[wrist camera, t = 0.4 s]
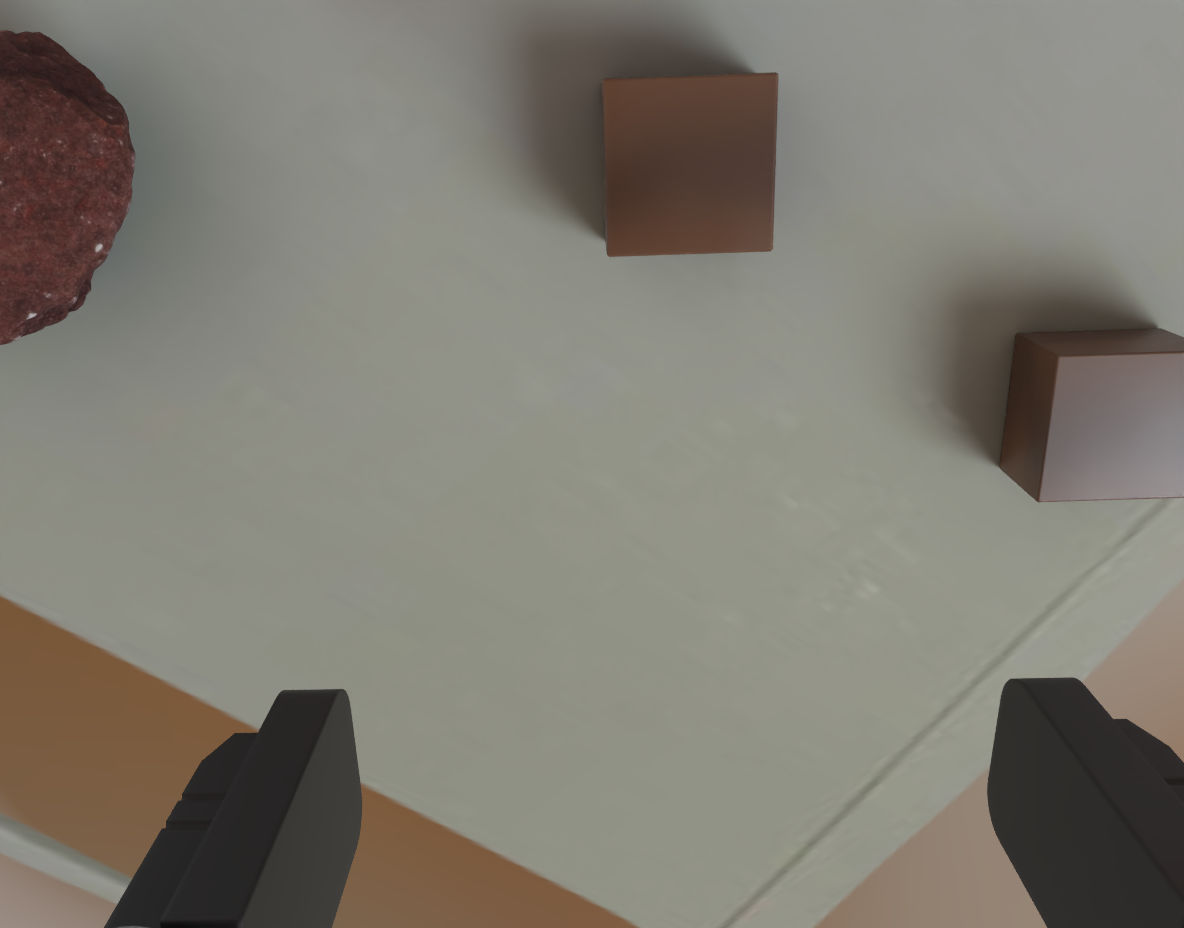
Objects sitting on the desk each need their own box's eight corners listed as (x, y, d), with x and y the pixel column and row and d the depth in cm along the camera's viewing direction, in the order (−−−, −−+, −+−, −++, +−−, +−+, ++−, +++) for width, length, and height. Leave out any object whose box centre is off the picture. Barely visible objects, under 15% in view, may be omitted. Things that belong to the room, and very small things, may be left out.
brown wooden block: (600, 81, 30) (602, 78, 27) (760, 75, 30) (778, 72, 27) (605, 243, 32) (606, 257, 29) (755, 237, 32) (773, 251, 29)
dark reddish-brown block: (1015, 332, 33) (1057, 355, 30) (1161, 328, 33) (1218, 349, 30) (998, 468, 35) (1037, 502, 32) (1137, 464, 35) (1189, 498, 32)
